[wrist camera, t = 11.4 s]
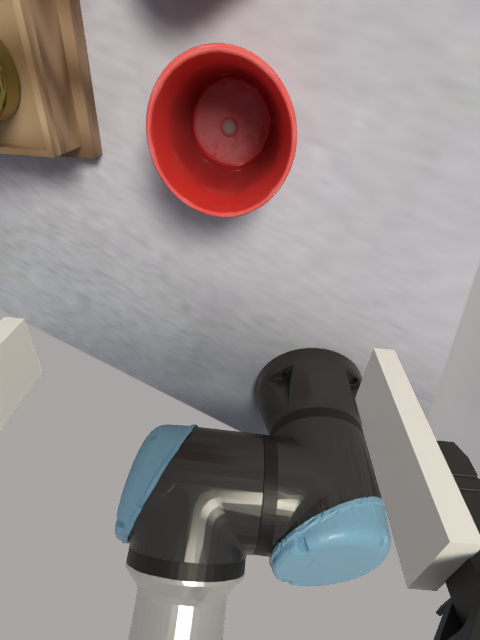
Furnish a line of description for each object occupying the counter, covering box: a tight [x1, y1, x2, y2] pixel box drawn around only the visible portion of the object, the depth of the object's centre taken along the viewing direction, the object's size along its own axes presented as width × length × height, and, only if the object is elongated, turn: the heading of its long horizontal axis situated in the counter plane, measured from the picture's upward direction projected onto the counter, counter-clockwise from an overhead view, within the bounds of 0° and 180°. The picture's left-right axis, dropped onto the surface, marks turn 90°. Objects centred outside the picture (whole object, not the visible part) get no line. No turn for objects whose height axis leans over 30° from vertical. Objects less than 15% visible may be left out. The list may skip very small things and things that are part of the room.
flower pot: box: [146, 43, 297, 218], centre depth 29 cm, size 11×11×10 cm
